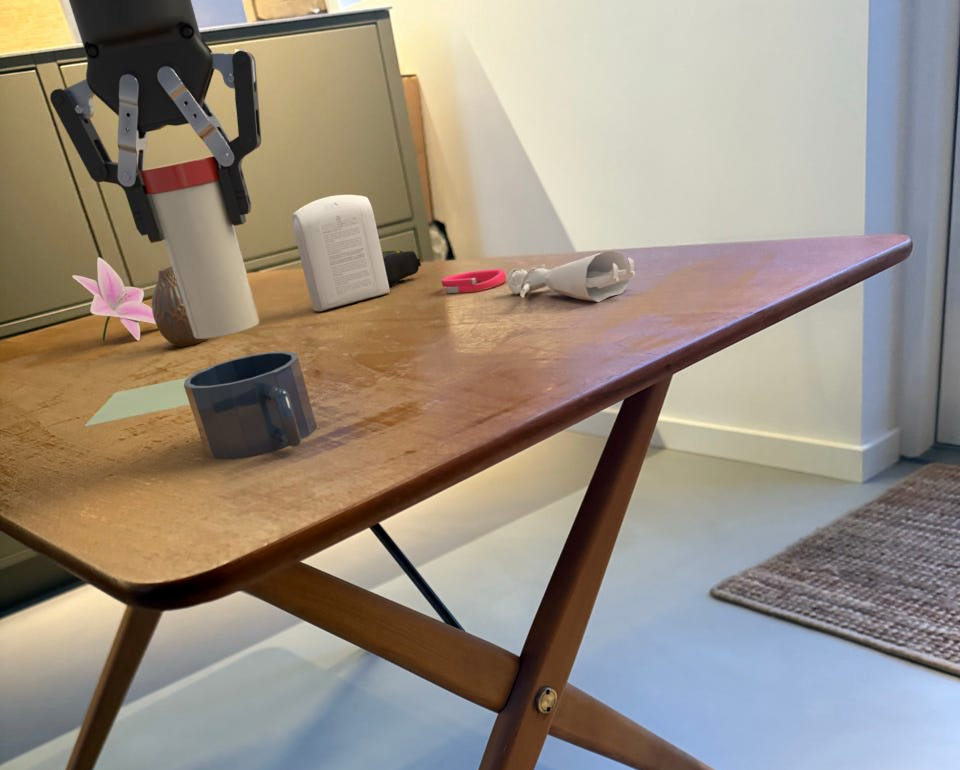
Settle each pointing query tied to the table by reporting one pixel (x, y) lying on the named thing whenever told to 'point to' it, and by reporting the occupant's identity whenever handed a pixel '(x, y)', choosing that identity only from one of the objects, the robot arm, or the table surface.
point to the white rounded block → (340, 251)
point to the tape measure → (400, 265)
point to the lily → (116, 299)
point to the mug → (251, 405)
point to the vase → (171, 311)
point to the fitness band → (473, 280)
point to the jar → (202, 246)
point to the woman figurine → (578, 277)
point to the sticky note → (142, 401)
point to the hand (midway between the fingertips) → (198, 231)
